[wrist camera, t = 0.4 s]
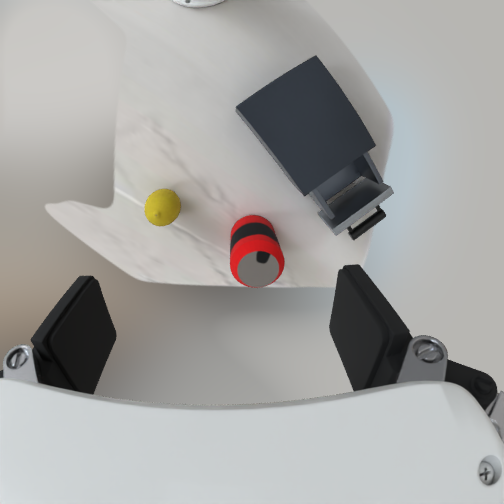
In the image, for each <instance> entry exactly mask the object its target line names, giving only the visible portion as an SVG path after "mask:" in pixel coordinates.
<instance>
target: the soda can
mask: <svg viewBox="0 0 504 504" xmlns="http://www.w3.org/2000/svg"><path fill="white" fill-rule="evenodd" d="M230 268H231V272H232V274H233V276H234V278H235V279H236V280H237V281H238V282H240V283H241V284H243V285H245V286H248V287H254V288H258V287H264V286H267V285H270V284H272V283H273V282H275V281H276V280H277V279H278V278H279V277H280V275H281V274H282V272H283V269H284V256H283V253H282V251H281V248H280V245H279V242H278V239H277V237H276V234H275V231H274V229H273V226H272V225H271V223H270V222H269V221H268V220H267V219H265V218H263V217H261V216H256V215H250V216H246V217H243V218H241V219H240V220H238V221H237V222H236V223H235V225H234V226H233V228H232V231H231V244H230Z"/></svg>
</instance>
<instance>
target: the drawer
mask: <svg viewBox="0 0 504 504" xmlns="http://www.w3.org/2000/svg"><path fill="white" fill-rule="evenodd" d="M360 176H363V177H365V179H364V180H363V181H361V182H360V183H358V184H357V185H356V186H354V187H353V188H352V189H350V190H349V191H347V192H346V193H345V194H343V195H342V196H340V197H339V198H338V199H336V200H335V201H333V202H332V203H331V204H329V205H328V204H327V203H326V201H327V200H328V199H330V198H331V197H332V196H334V195H335V194H337V193H338V192H339V191H341V190H342V189H344V188H345V187H346V186H348V185H349V184H350V183H352V182H353V181H355V180H356V179H357V178H359V177H360ZM382 182H383V180H382V178H381V176H380V174H379V172H378V170H377V169H376V167H375V165H374V163H373V161H372V159H371V158H370V156H369V154H368V152H366V153H365V154H363V155H362V156H360V157H359V158H357V159H356V160H355V161H353V162H352V163H350V164H349V165H348V166H346V167H345V168H343V169H342V170H341V171H339V172H338V173H336V174H335V175H333V176H332V177H331V178H329V179H328V180H326V181H325V182H324V183H322V184H321V185H319V186H318V187H317V188H315V189H314V190H313V191H311V192H310V193H309V194H310V195H311V197H312V198H313V200H314V201H315V203H316V204H317V205H318V206H319V207H320V209H321V211H320V212H318V215H319V216H320V217H321V219H322V220H323V221H324V222H325V223H326V225H327V226H328V227H329V228H330V229H331V231H332V232H333V233H334V234H335V235H338V234H339V233H340V232H342V231H343V230H345V229H346V228H347V229H348V231H349V232H348V234H349V236H350V237H351V238H352V240H355V239H357V238H358V237H359V236H361V235H362V234H363V233H365V232H366V231H368V230H369V229H370V228H372V227H373V226H374V225H376V224H377V223H378V222H380V221H381V220H382V219H384V218H385V217H386V214H385V212H384V211H383V210H382V209H381V208H380V206H379V204H380V203H381V202H383V201H384V200H385V199H387V198H388V197H389V196H391V195H392V194H393V193H394V192H393V190H392V188H391V187H390V186H388V185H386V184H384V183H382ZM375 207H376V209H377V212H375V213H374V214H373V215H371V216H370V217H369V218H367V219H366V220H365V221H363V222H362V223H361V224H359V225H358V226H356V227H355V228H354V229H352V228H351V226H350V225H352V224H353V223H354V222H356V221H357V220H358V219H360V218H361V217H363V216H364V215H365V214H367V213H368V212H369V211H371V210H372V209H373V208H375Z"/></svg>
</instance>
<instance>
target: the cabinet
mask: <svg viewBox="0 0 504 504" xmlns="http://www.w3.org/2000/svg"><path fill="white" fill-rule="evenodd" d="M236 112H237V114H238V115H239V116H240V117H241V118H242V120H243V121H244V122H245V123H246V125H247V126H248V127H249V128H250V129H251V131H252V132H253V133H254V134H255V136H256V137H257V138H258V139H259V141H260V142H261V143H262V144H263V146H264V147H265V148H266V150H267V151H268V152H269V153H270V155H271V156H272V157H273V159H274V160H275V161H276V163H277V164H278V165H279V167H280V168H281V169H282V171H283V172H284V173H285V175H286V176H287V177H288V179H289V180H290V181H291V182H292V183H293V184H294V186H295V187H296V188H297V189H298V190H299V191H300V192H301V193H302V194H303V195H304V196H306V195H307V194H308V193H310V192H311V191H313V190H314V189H315V188H317V187H318V186H319V185H321V184H322V183H324V182H325V181H326V180H328V179H329V178H331V177H332V176H333V175H335V174H336V173H338V172H339V171H341V170H342V169H343V168H345V167H346V166H348V165H349V164H350V163H352V162H353V161H355V160H356V159H357V158H359V157H360V156H362V155H363V154H365V153H366V152H367V151H369V150H370V149H372V148H373V147H375V146H376V144H375V143H374V141H373V139H372V137H371V136H370V134H369V132H368V130H367V129H366V127H365V125H364V124H363V122H362V120H361V119H360V117H359V116H358V114H357V112H356V111H355V109H354V108H353V106H352V105H351V103H350V102H349V100H348V98H347V97H346V96H345V94H344V93H343V91H342V90H341V88H340V87H339V85H338V84H337V83H336V81H335V80H334V78H333V77H332V76H331V74H330V73H329V72H328V70H327V69H326V68H325V66H324V65H323V64H322V62H321V61H320V60H319V58H318V57H317V56H314V57H312V58H310V59H308V60H307V61H305V62H303V63H302V64H300V65H298V66H297V67H295V68H293V69H292V70H290V71H288V72H287V73H285V74H283V75H282V76H280V77H279V78H277V79H276V80H274V81H273V82H271V83H269V84H268V85H266V86H265V87H263V88H262V89H260V90H259V91H258V92H256V93H255V94H253V95H252V96H250V97H249V98H247V99H246V100H245V101H243V102H242V103H240V104H239V105H238V106H236Z"/></svg>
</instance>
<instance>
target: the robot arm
mask: <svg viewBox="0 0 504 504" xmlns="http://www.w3.org/2000/svg"><path fill="white" fill-rule="evenodd" d="M173 1H174V2H176V3H177V4H179V5H183V6H186V7H207V6H212V5H215V4H218V3H221V2H223V1H225V0H173ZM188 2H190V3H188ZM329 328H330V333H331V336H332V338H333V341H334V343H335V346H336V348H337V351H338V353H339V355H340V358H341V360H342V362H343V365H344V367H345V370H346V373H347V375H348V378H349V380H350V383H351V385H352V388H353V390H354V392H349V393H343V394H337V395H330V396H324V397H317V398H310V399H302V400H294V401H284V402H274V403H259V404H239V405H187V404H165V403H153V402H142V401H133V400H125V399H117V398H110V397H104V396H98V395H93V394H94V391H95V389H96V386H97V384H98V381H99V379H100V376H101V373H102V371H103V368H104V366H105V364H106V361H107V359H108V357H109V354H110V352H111V350H112V347H113V345H114V343H115V341H116V330H115V328H114V325H113V323H112V320H111V317H110V314H109V312H108V309H107V306H106V303H105V300H104V297H103V294H102V291H101V288H100V285H99V282H98V280H96V279H95V278H94V277H93V276H79V277H78V278H77V280H76V281H75V282H74V283H73V284H72V286H71V287H70V288H69V289H68V290H67V292H66V293H65V294H64V295H63V297H62V298H61V299H60V300H59V302H58V303H57V304H56V306H55V307H54V308H53V309H52V311H51V312H50V313H49V315H48V316H47V317H46V319H45V320H44V321H43V323H42V324H41V326H40V327H39V328H38V330H37V331H36V333H35V334H34V335H33V337H32V338H31V342H32V343H33V345H34V348H33V349H31V347H29V346H28V345H25V344H21V345H17V346H15V347H13V348H12V349H11V350H10V351H8V353H7V354H6V356H5V358H4V360H3V370H2V371H0V504H504V392H503V391H501V392H500V393H497V386H496V383H495V381H494V380H493V379H492V377H490V376H489V375H488V374H486V373H484V372H481V371H478V370H476V369H473V368H470V367H467V366H464V365H462V364H459V363H456V362H453V361H451V360H448V359H447V358H448V354H447V353H448V352H447V349H446V347H445V346H444V345H443V343H442V342H440V341H439V340H438V339H436V338H434V337H431V336H426V335H421V336H417V337H414V338H413V337H412V336H411V334H410V333H409V329H408V328H407V327H406V325H405V324H404V322H403V321H402V320H401V318H400V317H399V316H398V314H397V313H396V311H395V310H394V309H393V308H392V306H391V305H390V303H389V302H388V301H387V299H386V298H385V297H384V296H383V294H382V293H381V292H380V290H379V289H378V288H377V286H376V285H375V284H374V283H373V282H372V280H371V279H370V278H369V276H368V275H367V274H366V273H365V271H364V270H363V269H362V268H361V266H360V265H358V264H357V265H345V266H343V269H340V270H339V272H338V277H337V284H336V290H335V297H334V303H333V309H332V314H331V320H330V325H329Z"/></svg>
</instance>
